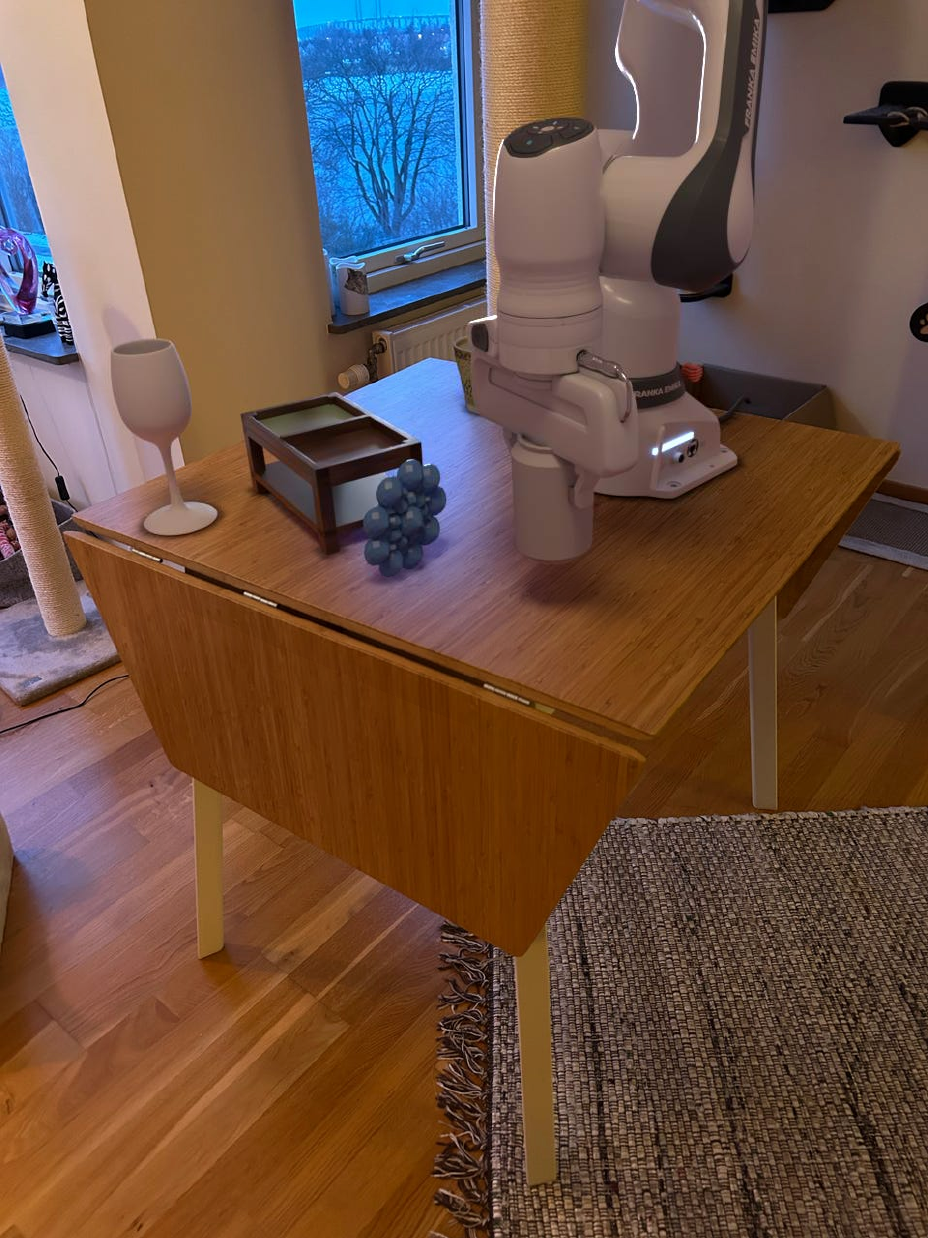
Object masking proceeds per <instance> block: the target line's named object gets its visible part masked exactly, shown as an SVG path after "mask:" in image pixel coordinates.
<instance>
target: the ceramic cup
mask: <svg viewBox="0 0 928 1238" xmlns="http://www.w3.org/2000/svg"><path fill="white" fill-rule="evenodd" d="M452 346H453V347H452V348H453V351H454V357H455V358H454V359H455V362H456V366H457V370H458V373H459V376H460V381H461V382H460V383H461V386H462V391H463V396H464V401H465V405H466V409H467V411H468V412H470V413H472V414H476V415H479V416H480V414H479V412H478V410H477V408H476V406H475V403H474V399H473V391H472V380H471V353H472V350H473V349H474V348H473V347H471V346H470V345H469V343H468V339H467V335H465V336H462V337H459V338H457V339H456V340H455V341H454V342H453V343H452Z"/></svg>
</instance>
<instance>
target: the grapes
mask: <svg viewBox="0 0 928 1238" xmlns="http://www.w3.org/2000/svg"><path fill="white" fill-rule="evenodd" d="M440 474H441V473H440V470H439V468H438V466H437V465H435V464H433V463H426V464H423V467H422V466H421V464H420V463H419V462H418V461H416V460H414V459H412V460H407V461H406V462H404V463H403V464H402V465H401V466H400V468H398V469H397V472H396V476H395V475H390V476H389V475H388V476H389V477H386V478H385V479H383V480H382V481H381V482H380V484H379V485H378V487H377V491H376V498H377V501H378V503H379V504H378V505H377V506H376V507H373V508H372V509H370V510H369V511H368V512H367V514H366V515H365V516H364V521H363V531H364V533H365V535H366V537H369V538H368V540H367V542H366V543H365V545H364V549H363V554H364V559H365V561H366V563H367V564H368V565H370V566H373V567H375V566H377V567H378V572H379V573H380V575H381V576H382V577H384V578H387V579H388V578H393V577H395V576H396V575H398V574H399V573H400V572H401V570H402V569H405V570H413V569H415V568H416V567H417V566H419V564H420V563H421V562H422V560H423V557H424V546H428V545H431V544H433V543H434V542H435V541H436V540H437V539H438V538H439V535H440V532H441V527H440V522H439V520H438V519H437V517H436V516H437V515H439V514H440V513H441V512H443V510H444V509H445V507H446V505H447V493H446V492H445V490H444V488H443V487H441V486H439V485H440V482H441V475H440Z"/></svg>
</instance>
